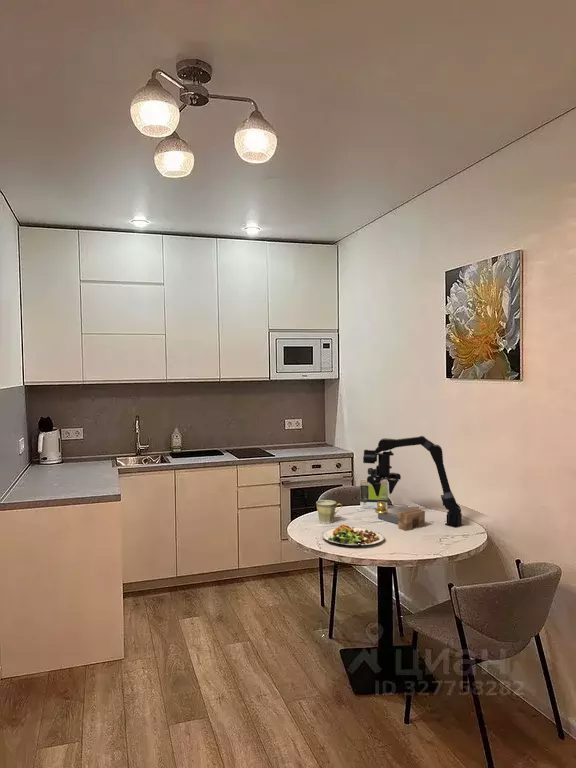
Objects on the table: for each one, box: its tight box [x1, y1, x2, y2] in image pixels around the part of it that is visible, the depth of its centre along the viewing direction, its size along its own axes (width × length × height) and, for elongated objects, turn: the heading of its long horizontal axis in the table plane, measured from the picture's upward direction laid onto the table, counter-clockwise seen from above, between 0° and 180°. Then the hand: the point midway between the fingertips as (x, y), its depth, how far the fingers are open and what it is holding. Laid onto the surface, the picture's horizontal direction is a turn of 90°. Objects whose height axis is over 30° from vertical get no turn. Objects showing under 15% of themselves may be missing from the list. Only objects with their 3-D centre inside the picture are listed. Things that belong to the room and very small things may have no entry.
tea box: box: [359, 478, 389, 510], centre depth 315 cm, size 15×10×15 cm
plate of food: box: [321, 524, 385, 546], centre depth 254 cm, size 28×28×6 cm
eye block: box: [397, 508, 426, 531], centre depth 273 cm, size 5×13×8 cm, turn 126°
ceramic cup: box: [315, 499, 343, 525], centre depth 283 cm, size 13×10×10 cm
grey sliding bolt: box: [374, 501, 399, 525], centre depth 285 cm, size 18×6×8 cm, turn 36°
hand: (383, 494), depth 285 cm, fingers open, 9 cm apart
